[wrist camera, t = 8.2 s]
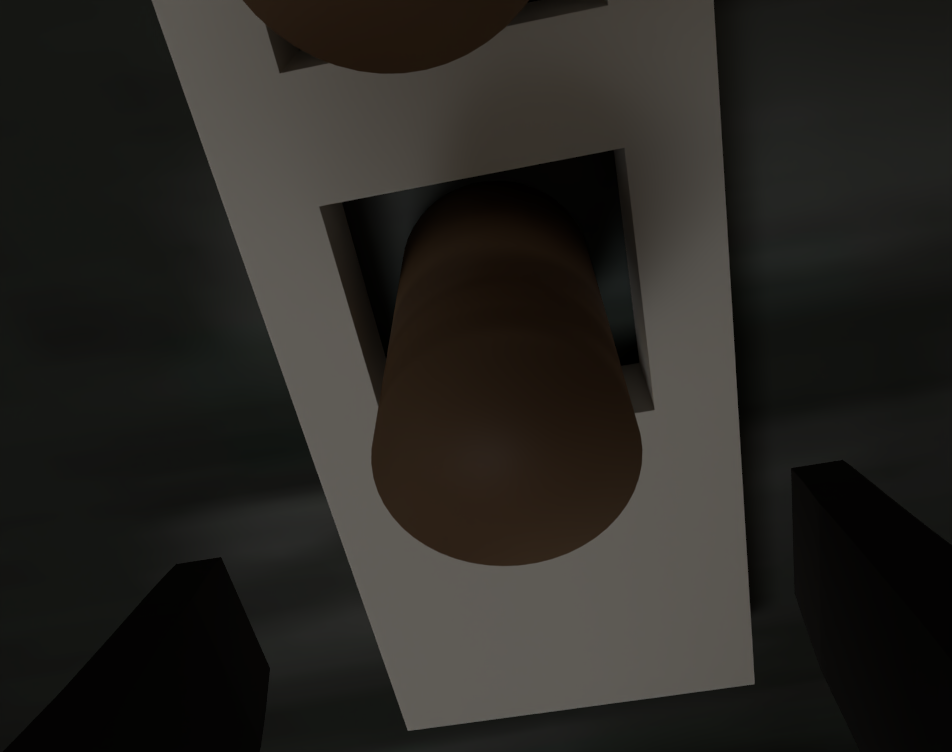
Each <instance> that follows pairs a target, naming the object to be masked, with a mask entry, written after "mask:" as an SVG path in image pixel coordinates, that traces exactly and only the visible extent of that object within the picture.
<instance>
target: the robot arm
mask: <svg viewBox="0 0 952 752" xmlns="http://www.w3.org/2000/svg"><path fill="white" fill-rule="evenodd" d="M791 477H792V513H793V549H794V585H795V595H796V598H797V601H798V604H799V607H800V610H801V613H802V616H803V619H804V622H805V625H806V628H807V631H808V634H809V637H810V640H811V643H812V646H813V648H814V651H815V654H816V657H817V660H818V662H819V665H820V668H821V670H822V672H823V675H824V677H825V679H826V681H827V683H828V685H829V687H830V689H831V692H832V694H833V696H834V698H835V700H836V702H837V704H838V706H839V708H840V710H841V712H842V714H843V717H844V719H845V721H846V723H847V725H848V727H849V729H850V731H851V733H852V735H853V737H854V739H855V741H856V743H857V745H858V747H859V750H860V752H952V545H951V544H949V543H948V542H947V541H945V540H944V539H943V538H941V537H940V536H939V535H938V534H936V533H935V532H934V531H932V530H931V529H930V528H928V527H927V526H926V525H924V524H923V523H922V522H921V521H919V520H918V519H917V518H916V517H914V516H913V515H912V514H910V513H909V512H908V511H907V510H905V509H904V508H903V507H902V506H900V505H899V504H898V503H897V502H895V501H894V500H893V499H892V498H890V497H889V496H888V495H887V494H885V493H884V492H883V491H882V490H880V489H879V488H878V487H877V486H875V485H874V484H873V483H872V482H870V481H869V480H868V479H867V478H865V477H864V476H863V475H862V474H860V473H859V472H858V471H857V470H855V469H854V468H853V467H852V466H850V465H849V464H847V463H846V462H845V461H843V460H841V461H834V462H828V463H821V464H815V465H809V466H802V467H796V468H791ZM269 672H270V668H269V665H268V663H267V661H266V658H265V656H264V654H263V652H262V649H261V647H260V645H259V642H258V640H257V638H256V636H255V633H254V631H253V629H252V627H251V624H250V622H249V620H248V617H247V615H246V613H245V611H244V608H243V606H242V604H241V602H240V599H239V597H238V595H237V592H236V590H235V588H234V586H233V583H232V581H231V579H230V576H229V574H228V572H227V570H226V567H225V565H224V563H223V561H222V558H221V557H220V558H213V559H207V560H200V561H194V562H188V563H181V564H176V565H175V566H174V567H173V568H172V569H171V570H170V571H169V572H168V573H167V574H166V575H165V576H164V577H163V578H162V579H161V580H160V582H159V583H158V584H157V585H156V586H155V587H154V588H153V589H152V590H151V591H150V593H149V594H148V595H147V596H146V597H145V598H144V599H143V600H142V602H141V603H140V604H139V605H138V606H137V607H136V608H135V609H134V611H133V612H132V613H131V614H130V615H129V616H128V617H127V619H126V620H125V621H124V622H123V623H122V624H121V625H120V626H119V628H118V629H117V630H116V631H115V632H114V633H113V634H112V636H111V637H110V638H109V639H108V640H107V641H106V642H105V643H104V645H103V646H102V647H101V648H100V649H99V650H98V651H97V652H96V653H95V655H94V656H93V657H92V658H91V659H90V660H89V661H88V662H87V663H86V665H85V666H84V667H83V668H82V669H81V670H80V671H79V672H78V673H77V675H76V676H75V677H74V678H73V679H72V680H71V681H70V682H69V683H68V685H67V686H66V687H65V688H64V689H63V690H62V691H61V692H60V693H59V694H58V695H57V696H56V698H55V699H54V700H53V701H52V702H51V703H50V704H49V705H48V706H47V707H46V708H45V709H44V710H43V711H42V712H41V713H40V714H39V715H38V716H37V717H36V718H35V719H34V720H33V721H32V722H31V723H30V724H29V725H28V726H27V727H26V728H25V730H24V731H23V732H22V733H21V734H20V735H19V736H18V737H17V738H16V739H15V740H14V741H13V742H12V743H11V744H10V745H9V746H8V747H7V748H6V749H5V750H4V751H3V752H259V751H260V747H261V741H262V734H263V726H264V719H265V711H266V702H267V692H268V682H269Z"/></svg>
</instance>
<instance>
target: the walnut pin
mask: <svg viewBox="0 0 952 752" xmlns="http://www.w3.org/2000/svg"><path fill="white" fill-rule="evenodd" d="M642 450H643V449H642V441H641V434H640V431H639V427H638V424H637V420H636V417H635V413H634V410H633V406H632V403H631V399H630V396H629V392H628V389H627V385H626V382H625V378H624V375H623V371H622V368H621V364H620V361H619V357H618V354H617V350H616V347H615V343H614V340H613V336H612V333H611V329H610V326H609V322H608V319H607V315H606V312H605V308H604V305H603V301H602V298H601V294H600V291H599V287H598V284H597V280H596V277H595V273H594V270H593V266H592V263H591V259H590V256H589V252H588V249H587V246H586V242H585V239H584V236H583V234H582V232H581V230H580V228H579V226H578V224H577V223H576V221H575V220H574V218H573V217H572V216H571V215H570V213H569V212H568V211H567V210H566V209H565V208H564V207H563V206H562V205H561V204H560V203H558V202H557V201H556V200H555V199H553V198H552V197H550V196H549V195H547V194H545V193H543V192H541V191H539V190H537V189H535V188H532V187H529V186H526V185H523V184H519V183H514V182H505V181H489V182H481V183H475V184H471V185H468V186H465V187H462V188H459V189H457V190H455V191H453V192H451V193H448V194H447V195H445V196H444V197H442V198H441V199H439V200H438V201H436V202H435V203H434V204H433V205H432V206H431V207H429V208H428V209H427V211H426V212H425V213H424V214H423V215H422V216H421V217H420V219H419V220H418V222H417V223H416V225H415V226H414V228H413V230H412V232H411V234H410V236H409V238H408V241H407V244H406V247H405V251H404V257H403V262H402V268H401V274H400V280H399V286H398V292H397V298H396V304H395V310H394V316H393V322H392V328H391V334H390V340H389V346H388V352H387V358H386V364H385V370H384V376H383V382H382V388H381V394H380V400H379V406H378V412H377V418H376V424H375V430H374V436H373V442H372V448H371V465H372V472H373V478H374V481H375V485H376V488H377V491H378V493H379V495H380V497H381V499H382V502H383V504H384V505H385V507H386V508H387V510H388V511H389V513H390V514H391V516H392V517H393V518H394V519H395V520H396V521H397V522H398V524H399V525H400V526H401V527H402V528H403V529H404V530H405V531H407V532H408V533H409V534H410V535H411V536H412V537H414V538H415V539H417V540H418V541H420V542H421V543H423V544H424V545H426V546H427V547H429V548H431V549H433V550H435V551H437V552H439V553H441V554H444V555H447V556H449V557H452V558H455V559H458V560H462V561H466V562H470V563H475V564H482V565H490V566H519V565H527V564H533V563H539V562H543V561H547V560H551V559H554V558H557V557H559V556H562V555H565V554H568V553H570V552H572V551H574V550H576V549H578V548H580V547H582V546H583V545H585V544H587V543H588V542H590V541H591V540H593V539H594V538H596V537H597V536H598V535H600V534H601V533H602V532H603V531H604V530H606V529H607V528H608V527H609V526H610V525H611V524H612V523H613V522H614V521H615V520H616V519H617V518H618V516H619V515H620V514H621V512H622V511H623V510H624V508H625V507H626V506H627V504H628V502H629V500H630V498H631V497H632V495H633V493H634V491H635V488H636V485H637V482H638V480H639V476H640V471H641V466H642Z"/></svg>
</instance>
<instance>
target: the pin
mask: <svg viewBox="0 0 952 752" xmlns="http://www.w3.org/2000/svg"><path fill="white" fill-rule="evenodd" d="M243 1H244V2H245V4H246V5H247V6H248V7H249V8H250V9H251V10H252V12H253V13H254V14H255V15H256V16H257V17H258V18H259V19H261V20H262V21H263V22H264V23H265V24H266V25H267V26H268V27H269V28H270V29H272V30H273V31H274V32H275V33H277V34H278V35H279V36H281V37H282V38H284V39H285V40H286V41H288V42H289V43H291V44H292V45H293V46H295V47H297V48H299V49H301V50H303V51H304V52H306V53H308V54H310V55H312V56H314V57H316V58H318V59H321V60H323V61H326V62H329V63H331V64H334V65H336V66H340V67H344V68H348V69H352V70H356V71H361V72H370V73H379V74H396V73H409V72H416V71H422V70H427V69H431V68H434V67H437V66H441V65H444V64H447V63H450V62H452V61H454V60H456V59H459V58H461V57H463V56H465V55H467V54H469V53H471V52H472V51H474V50H476V49H477V48H479V47H480V46H482V45H484V44H485V43H487V42H488V41H489V40H491V39H492V38H493V37H494V36H496V35H497V34H498V33H499V32H500V31H502V30H503V29H504V28H505V27H506V26H507V25H508V24H509V23H510V22H511V21H512V20H513V19H514V18H515V17H516V16H517V15H518V13H519V12H520V11H521V10H522V9H523V8H524V6H525V5H526V4H527V2H528V1H529V0H243Z"/></svg>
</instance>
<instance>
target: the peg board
mask: <svg viewBox="0 0 952 752" xmlns="http://www.w3.org/2000/svg"><path fill="white" fill-rule="evenodd" d="M152 2H153V5H154V8H155V11H156V14H157V17H158V19H159V22H160V25H161V28H162V31H163V34H164V37H165V39H166V42H167V45H168V48H169V51H170V54H171V57H172V59H173V62H174V65H175V68H176V71H177V74H178V76H179V79H180V82H181V85H182V88H183V91H184V94H185V96H186V99H187V102H188V105H189V108H190V111H191V114H192V116H193V119H194V122H195V125H196V128H197V131H198V133H199V136H200V139H201V142H202V145H203V148H204V151H205V153H206V156H207V159H208V162H209V165H210V168H211V171H212V173H213V176H214V179H215V182H216V185H217V188H218V191H219V193H220V196H221V199H222V202H223V205H224V208H225V210H226V213H227V216H228V219H229V222H230V225H231V228H232V230H233V233H234V236H235V239H236V242H237V245H238V248H239V250H240V253H241V256H242V259H243V262H244V265H245V267H246V270H247V273H248V276H249V279H250V282H251V285H252V287H253V290H254V293H255V296H256V299H257V302H258V305H259V307H260V310H261V313H262V316H263V319H264V322H265V324H266V327H267V330H268V333H269V336H270V339H271V342H272V344H273V347H274V350H275V353H276V356H277V359H278V362H279V364H280V367H281V370H282V373H283V376H284V379H285V381H286V384H287V387H288V390H289V393H290V396H291V399H292V401H293V404H294V407H295V410H296V413H297V416H298V419H299V421H300V424H301V427H302V430H303V433H304V436H305V438H306V441H307V444H308V447H309V450H310V453H311V456H312V458H313V461H314V464H315V467H316V470H317V473H318V476H319V478H320V481H321V484H322V487H323V490H324V493H325V495H326V498H327V501H328V504H329V507H330V510H331V513H332V515H333V518H334V521H335V524H336V527H337V530H338V533H339V535H340V538H341V541H342V544H343V547H344V550H345V552H346V555H347V558H348V561H349V564H350V567H351V570H352V572H353V575H354V578H355V581H356V584H357V587H358V590H359V592H360V595H361V598H362V601H363V604H364V607H365V609H366V612H367V615H368V618H369V621H370V624H371V627H372V629H373V632H374V635H375V638H376V641H377V644H378V647H379V649H380V652H381V655H382V658H383V661H384V664H385V666H386V669H387V672H388V675H389V678H390V681H391V684H392V686H393V689H394V692H395V695H396V698H397V701H398V704H399V706H400V709H401V712H402V715H403V718H404V721H405V723H406V726H407V729H408V731H410V730H418V729H425V728H433V727H440V726H447V725H455V724H462V723H470V722H477V721H485V720H492V719H500V718H507V717H514V716H522V715H529V714H537V713H544V712H552V711H559V710H566V709H574V708H581V707H589V706H596V705H604V704H611V703H618V702H626V701H633V700H641V699H648V698H656V697H663V696H670V695H678V694H685V693H693V692H700V691H708V690H715V689H722V688H730V687H737V686H745V685H752V684H755V681H754V664H753V648H752V631H751V614H750V598H749V581H748V564H747V548H746V531H745V514H744V498H743V481H742V465H741V448H740V431H739V415H738V398H737V381H736V365H735V348H734V331H733V315H732V298H731V282H730V265H729V248H728V232H727V215H726V198H725V182H724V165H723V148H722V132H721V115H720V99H719V82H718V65H717V49H716V32H715V15H714V0H538V1H533V2H529V3H527V4H526V5H525V6H524V8H523V9H522V10H521V11H520V12H519V13H518V15H517V16H516V17H515V18H514V19H513V20H512V21H511V22H510V23H509V24H508V25H507V26H506V27H505V28H504V29H503V30H502V31H500V32H499V33H498V34H497V35H496V36H494V37H493V38H492V39H491V40H489V41H488V42H487V43H485V44H484V45H482V46H480V47H479V48H477V49H476V50H474V51H472V52H471V53H469V54H467V55H465V56H463V57H461V58H459V59H456V60H454V61H452V62H450V63H447V64H444V65H441V66H437V67H434V68H431V69H427V70H422V71H416V72H409V73H396V74H379V73H370V72H361V71H356V70H352V69H348V68H344V67H340V66H336V65H334V64H331V63H329V62H326V61H323V60H321V59H318V58H316V57H314V56H312V55H310V54H308V53H306V52H304V51H303V50H300V51H299V48H297V47H295V46H293V45H292V44H291V43H289V42H288V41H286V40H285V39H284V38H282V37H281V36H279V35H278V34H277V33H275V32H274V31H273V30H272V29H270V28H269V27H268V26H267V25H266V24H265V23H264V22H263V21H262V20H261V19H259V18H258V17H257V16H256V15H255V14H254V13H253V12H252V10H251V9H250V8H249V7H248V6H247V5H246V4H245V2H244V1H243V0H152ZM610 150H614V157H615V165H616V173H617V182H618V190H619V198H620V206H621V215H622V223H623V231H624V239H625V248H626V256H627V264H628V272H629V281H630V289H631V297H632V305H633V314H634V322H635V330H636V338H637V347H638V355H639V363H635V364H629V365H623V366H621V368H622V371H623V375H624V378H625V382H626V385H627V389H628V392H629V396H630V399H631V403H632V406H633V410H634V413H635V417H636V420H637V424H638V427H639V431H640V434H641V441H642V449H643V450H642V466H641V471H640V476H639V480H638V482H637V485H636V488H635V491H634V493H633V495H632V497H631V498H630V500H629V502H628V504H627V506H626V507H625V508H624V510H623V511H622V512H621V514H620V515H619V516H618V518H617V519H616V520H615V521H614V522H613V523H612V524H611V525H610V526H609V527H608V528H607V529H606V530H604V531H603V532H602V533H601V534H600V535H598V536H597V537H596V538H594V539H593V540H591V541H590V542H588V543H587V544H585V545H583V546H582V547H580V548H578V549H576V550H574V551H572V552H570V553H568V554H565V555H562V556H559V557H557V558H554V559H551V560H547V561H543V562H539V563H533V564H527V565H519V566H490V565H482V564H475V563H470V562H466V561H462V560H458V559H455V558H452V557H449V556H447V555H444V554H441V553H439V552H437V551H435V550H433V549H431V548H429V547H427V546H426V545H424V544H423V543H421V542H420V541H418V540H417V539H415V538H414V537H412V536H411V535H410V534H409V533H408V532H407V531H405V530H404V529H403V528H402V527H401V526H400V525H399V524H398V522H397V521H396V520H395V519H394V518H393V517H392V516H391V514H390V513H389V511H388V510H387V508H386V507H385V505H384V504H383V502H382V499H381V497H380V495H379V493H378V491H377V488H376V485H375V481H374V478H373V472H372V465H371V448H372V442H373V436H374V430H375V424H376V418H377V412H378V406H379V400H380V394H381V388H382V382H383V376H384V370H385V364H386V357H385V353H384V350H383V346H382V343H381V339H380V336H379V332H378V328H377V325H376V321H375V318H374V314H373V311H372V307H371V304H370V300H369V297H368V293H367V289H366V286H365V282H364V279H363V275H362V272H361V268H360V265H359V261H358V258H357V254H356V250H355V247H354V243H353V240H352V236H351V233H350V229H349V226H348V222H347V219H346V215H345V211H344V208H343V204H342V202H345V201H350V200H355V199H360V198H366V197H371V196H376V195H381V194H386V193H392V192H397V191H402V190H407V189H412V188H418V187H423V186H428V185H433V184H438V183H444V182H449V181H454V180H459V179H464V178H470V177H475V176H480V175H485V174H491V173H496V172H501V171H506V170H511V169H517V168H522V167H527V166H532V165H537V164H543V163H548V162H553V161H558V160H563V159H569V158H574V157H579V156H584V155H589V154H595V153H600V152H605V151H610Z"/></svg>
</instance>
